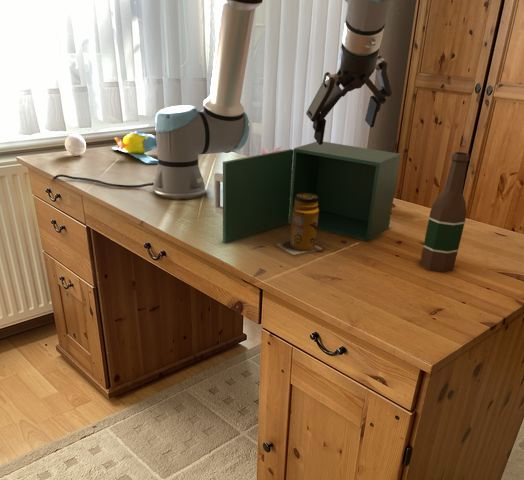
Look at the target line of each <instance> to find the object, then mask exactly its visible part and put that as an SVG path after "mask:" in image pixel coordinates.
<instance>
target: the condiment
mask: <svg viewBox="0 0 524 480" xmlns="http://www.w3.org/2000/svg"><path fill="white" fill-rule="evenodd" d="M294 204H295V205H294V207H293V209H292V222H290V223H291V224H290V235H289V236H290V238H289V241H285V242H278V243H275V245H276V246H277V247H279V248H281V249H282V250H284V251H286V252H287V253H289V254H291V255H293V256H295V255H301V254H304V253H305V254H306V253H307V252H312V251H314V252H316V251H317V250H323V247H321V246H319V245H317V234H318V229H317V226H318V215H319V209H318V196H316V195H314V194H309V193H300V194H297V195H296V196H295V202H294Z"/></svg>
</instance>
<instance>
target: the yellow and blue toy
mask: <svg viewBox="0 0 524 480" xmlns="http://www.w3.org/2000/svg"><path fill="white" fill-rule="evenodd" d="M113 138H114V141H116V144H117V147H111V149H112V150H116V151H117V150H118V151H120V152H123V153H126V154H128V155H130V156H133V157H135V158H136V159H139V160H140V161H141V162H143V163H145V164H152V165H156V164H158V159H156V158H154V157H152V156H150V155H148V154H146V153H148V152H151V151H153V150H155V149H157V139H156V134H155V135H153V134H150V133H143V132H142V131H141V132H140V131H133V130H132V131H131V132H129V133H127V134H125V135H124V137H123V138H122V139H121V138H118V137H113Z"/></svg>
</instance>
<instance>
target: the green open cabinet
mask: <svg viewBox="0 0 524 480" xmlns="http://www.w3.org/2000/svg"><path fill="white" fill-rule="evenodd" d="M401 156H402V154H401V153H397V152H393V151H392V152H391V151H385V150H379V149H372V148H367V147H360V146H353V145H348V144H341V143H335V142H328V141H323V144H322V145H319V144H318V142H317V141H314V142H311V143H306V144H304V145H300V146H297V147H293V165H292V180H291V195H290V211H289V223H291V222H292V209H293V207H294V205H295V204H294V202H295V196H296V195H297V194H300V193H309V194H314V195H316V196H318V209H319V215H318V226H317V230H320V231H324V232H328V233H332V234H337V235H340V236H344V237H347V238H348V237H349V238H353V239H357V240H360V241H363V242H370V241H372V240H373V239H375V238H376V237H378V236H379V235H381V234H382V233H383V232H386V230H388V229H389V228H390V221H391V215H392V208H393V202H394V197H395V192H396V187H397V186H396V185H397V179H398V173H399V168H400V162H401V161H400V160H401Z"/></svg>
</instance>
